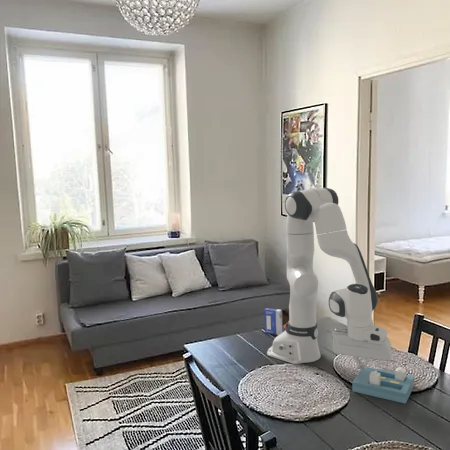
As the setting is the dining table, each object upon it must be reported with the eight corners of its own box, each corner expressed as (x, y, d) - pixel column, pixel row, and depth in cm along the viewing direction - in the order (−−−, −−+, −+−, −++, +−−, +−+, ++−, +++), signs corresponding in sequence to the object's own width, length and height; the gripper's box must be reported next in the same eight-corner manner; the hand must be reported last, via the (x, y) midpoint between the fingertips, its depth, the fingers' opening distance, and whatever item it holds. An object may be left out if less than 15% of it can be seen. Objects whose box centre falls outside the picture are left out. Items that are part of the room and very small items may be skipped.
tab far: (394, 382, 164) (394, 369, 163) (396, 379, 166) (396, 365, 165) (403, 384, 162) (403, 370, 161) (405, 381, 165) (405, 367, 164)
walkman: (264, 333, 222) (264, 309, 220) (267, 331, 224) (266, 307, 223) (280, 335, 218) (279, 310, 217) (282, 333, 221) (281, 308, 219)
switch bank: (352, 391, 163) (352, 381, 163) (363, 375, 175) (363, 366, 174) (405, 403, 153) (405, 393, 153) (414, 385, 165) (414, 376, 165)
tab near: (369, 386, 162) (369, 373, 161) (371, 383, 164) (371, 369, 163) (378, 388, 160) (378, 374, 159) (380, 385, 162) (380, 371, 162)
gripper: (328, 330, 164) (331, 367, 166) (387, 337, 153) (389, 376, 155) (334, 324, 170) (336, 359, 171) (392, 330, 159) (394, 368, 160)
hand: (362, 368), depth 163 cm, fingers closed
